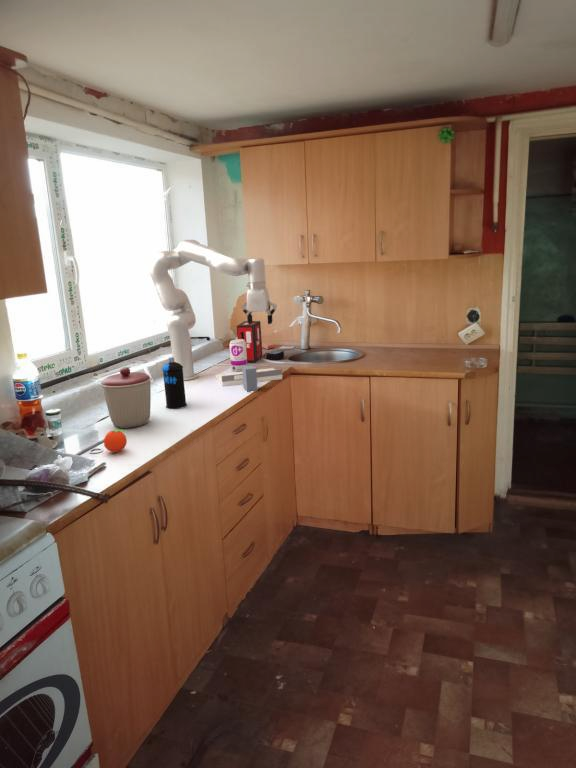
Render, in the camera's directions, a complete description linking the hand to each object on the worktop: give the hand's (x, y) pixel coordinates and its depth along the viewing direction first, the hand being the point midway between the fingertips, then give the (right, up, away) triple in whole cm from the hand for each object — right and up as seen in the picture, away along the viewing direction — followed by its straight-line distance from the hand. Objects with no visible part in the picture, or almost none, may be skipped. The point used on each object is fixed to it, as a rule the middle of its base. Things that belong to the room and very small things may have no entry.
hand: (260, 323), depth 260 cm
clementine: (-41, -49, -80) cm, 102 cm away
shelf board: (-5, -25, +6) cm, 26 cm away
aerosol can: (-32, -37, -32) cm, 58 cm away
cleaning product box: (-7, -15, +48) cm, 51 cm away
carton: (-3, -30, -13) cm, 33 cm away
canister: (-44, -42, -52) cm, 81 cm away
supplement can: (-12, -21, +26) cm, 35 cm away
